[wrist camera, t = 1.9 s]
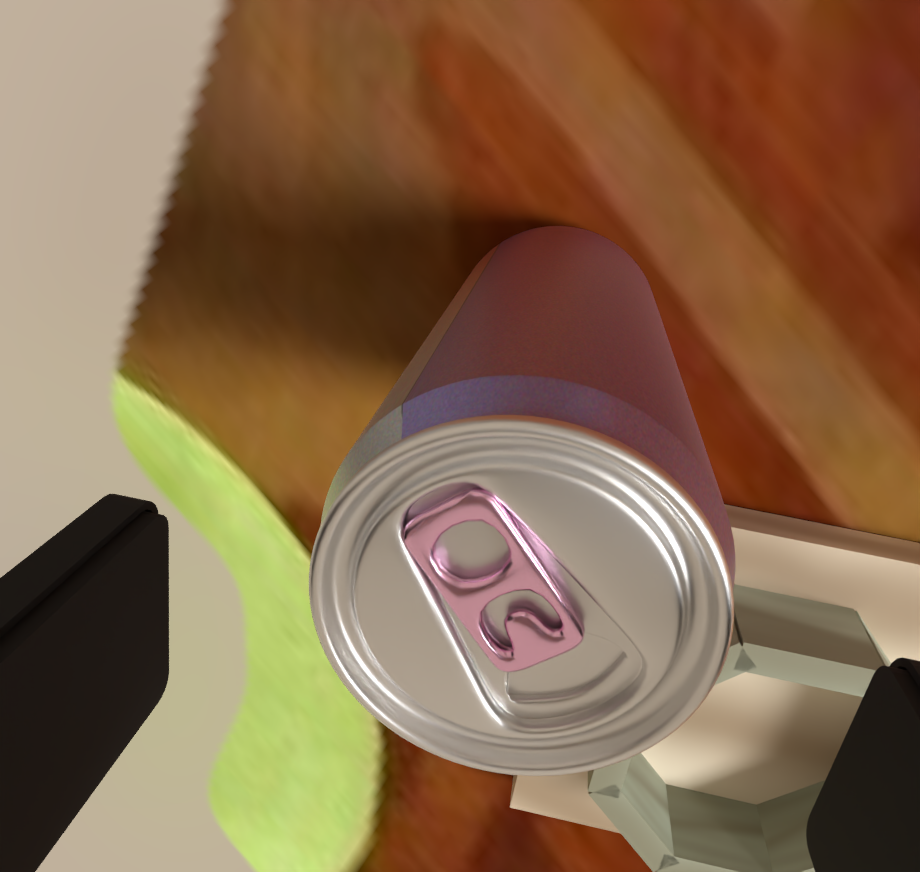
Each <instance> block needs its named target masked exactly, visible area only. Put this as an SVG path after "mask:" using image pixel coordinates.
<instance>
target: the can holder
mask: <svg viewBox="0 0 920 872" xmlns="http://www.w3.org/2000/svg"><path fill="white" fill-rule="evenodd" d="M724 506H725V509H726V512H727V515H728V518H729V521H730V524H731V529H732V534H733V539H734V547H735V565H736V570H735V582H734V588H733V597H734V623H733V633H732V638H731V643H730V648H729V651H728V655H727V658H726V661H725V663H724V666H723V668H722V671H721V673H720V675H719V677H718V679H717V681H716V683H715V685H714V686H713V688H712V689H711V691H710V693H709V694H708V696H707V697H706V698H705V700H704V701H703V702H702V704H701V705H700V706H699V708H698V709H697V710H696V711H695V712H694V713H693V714H692V715H691V716H690V718H689V719H688V720H687V721H685V722H684V723H683V724H682V725H681V726H680V727H679V728H678V729H677V730H675V731H674V732H673V733H671V734H670V735H669V736H668V737H666V738H665V739H663V740H662V741H660V742H659V743H657V744H656V745H654V746H652V747H650V748H649V749H647V750H645V751H643V752H641V753H639V754H637V755H635V756H633V757H631V758H628V759H626V760H623V761H621V762H618V763H615V764H612V765H609V766H606V767H602V768H599V769H594V770H590V771H586V772H580V773H574V774H566V775H555V776H521V775H513V783H512V792H511V801H510V807H511V808H515V809H519V810H523V811H528V812H532V813H536V814H540V815H545V816H549V817H553V818H558V819H562V820H566V821H570V822H575V823H579V824H583V825H587V826H592V827H596V828H600V829H605V830H609V831H613V832H617V833H621V834H622V835H623V836H624V838H625V839H626V840H627V841H628V842H629V844H630V845H631V846H632V847H633V848H634V850H635V851H636V852H637V853H638V854H639V856H640V857H641V858H642V859H643V860H644V862H645V863H646V864H647V865H648V866H649V867H650V869H651V870H652V871H653V872H655V871H656V872H815V870H814V866H813V863H812V860H811V857H810V854H809V851H808V846H807V840H806V828H807V821H808V818H809V815H810V813H811V811H812V808H813V806H814V804H815V802H816V800H817V798H818V795H819V793H820V791H821V789H822V787H823V784H824V782H825V780H826V778H827V776H828V773H829V771H830V769H831V767H832V765H833V762H834V760H835V758H836V756H837V754H838V751H839V749H840V747H841V745H842V743H843V740H844V738H845V736H846V734H847V732H848V729H849V727H850V725H851V723H852V721H853V718H854V716H855V714H856V712H857V710H858V708H859V705H860V703H861V701H862V699H863V697H864V694H865V692H866V690H867V688H868V686H869V683H870V681H871V679H872V677H873V675H874V673H875V671H876V670H877V669H878V668H879V667H880V666H890V665H891V663H892V662H893V661H895V660H896V659H897V658H902V657H903V658H908V659H913V660H917V661H920V543H917V542H912V541H907V540H902V539H897V538H892V537H887V536H882V535H877V534H872V533H867V532H862V531H857V530H852V529H847V528H842V527H837V526H831V525H826V524H821V523H816V522H811V521H806V520H801V519H796V518H791V517H786V516H781V515H776V514H771V513H766V512H761V511H756V510H751V509H746V508H741V507H736V506H731V505H726V504H724Z"/></svg>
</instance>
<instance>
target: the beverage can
mask: <svg viewBox="0 0 920 872" xmlns="http://www.w3.org/2000/svg"><path fill="white" fill-rule="evenodd" d="M735 570H736V565H735V547H734V539H733V534H732V529H731V524H730V521H729V518H728V515H727V512H726V509H725V506H724V503H723V500H722V497H721V494H720V491H719V488H718V485H717V482H716V479H715V476H714V473H713V470H712V467H711V464H710V461H709V458H708V455H707V453H706V450H705V447H704V444H703V441H702V438H701V435H700V432H699V429H698V426H697V423H696V420H695V417H694V414H693V411H692V408H691V405H690V402H689V399H688V397H687V394H686V391H685V388H684V385H683V382H682V379H681V376H680V373H679V370H678V367H677V364H676V361H675V358H674V355H673V352H672V349H671V346H670V343H669V341H668V338H667V335H666V332H665V329H664V326H663V323H662V320H661V317H660V314H659V311H658V308H657V305H656V302H655V299H654V296H653V293H652V291H651V288H650V286H649V283H648V281H647V279H646V277H645V275H644V274H643V272H642V271H641V269H640V268H639V266H638V265H637V264H636V262H635V261H634V260H633V259H632V258H631V257H630V256H629V255H628V254H627V253H626V252H625V251H624V250H623V249H622V248H620V247H619V246H618V245H616V244H615V243H613V242H612V241H610V240H609V239H607V238H605V237H603V236H601V235H599V234H597V233H594V232H591V231H588V230H585V229H581V228H576V227H569V226H546V227H539V228H534V229H530V230H527V231H523V232H521V233H518V234H516V235H514V236H512V237H510V238H508V239H506V240H504V241H503V242H501V243H500V244H498V245H497V246H495V247H494V248H493V249H492V250H490V251H489V252H488V253H487V254H486V255H485V256H484V257H483V258H482V259H481V260H480V261H479V262H478V264H477V265H476V266H475V268H474V269H473V270H472V272H471V273H470V275H469V276H468V278H467V279H466V281H465V282H464V284H463V285H462V287H461V288H460V290H459V291H458V292H457V294H456V295H455V297H454V298H453V300H452V301H451V303H450V304H449V306H448V307H447V309H446V310H445V312H444V313H443V315H442V316H441V317H440V319H439V320H438V322H437V323H436V325H435V326H434V328H433V329H432V331H431V332H430V334H429V335H428V337H427V338H426V340H425V341H424V343H423V344H422V345H421V347H420V348H419V350H418V351H417V353H416V354H415V356H414V357H413V359H412V360H411V362H410V363H409V365H408V366H407V368H406V369H405V370H404V372H403V373H402V375H401V376H400V378H399V379H398V381H397V382H396V384H395V385H394V387H393V388H392V390H391V391H390V393H389V394H388V395H387V397H386V398H385V400H384V401H383V403H382V404H381V406H380V407H379V409H378V410H377V412H376V413H375V415H374V416H373V418H372V419H371V420H370V422H369V423H368V425H367V426H366V428H365V429H364V431H363V432H362V434H361V435H360V437H359V438H358V440H357V441H356V443H355V444H354V446H353V447H352V448H351V450H350V451H349V453H348V454H347V456H346V457H345V459H344V461H343V462H342V464H341V465H340V467H339V469H338V471H337V473H336V475H335V477H334V479H333V481H332V484H331V486H330V489H329V491H328V494H327V498H326V501H325V504H324V509H323V514H322V519H321V526H320V529H319V531H318V534H317V537H316V540H315V544H314V547H313V552H312V557H311V562H310V572H309V596H310V605H311V611H312V617H313V620H314V624H315V628H316V631H317V634H318V637H319V640H320V643H321V645H322V647H323V649H324V652H325V654H326V656H327V658H328V660H329V662H330V663H331V665H332V667H333V669H334V670H335V672H336V673H337V675H338V676H339V678H340V680H341V681H342V682H343V684H344V685H345V686H346V687H347V689H348V690H349V691H350V692H351V694H352V695H353V696H354V697H355V698H356V699H357V700H358V702H359V703H360V704H361V705H362V706H363V707H364V708H365V709H366V710H367V711H369V712H370V713H371V714H372V715H373V716H374V717H375V718H377V719H378V720H379V721H380V722H381V723H383V724H384V725H385V726H387V727H388V728H389V729H391V730H392V731H394V732H395V733H397V734H398V735H399V736H401V737H402V738H404V739H406V740H408V741H409V742H411V743H413V744H414V745H416V746H418V747H420V748H422V749H424V750H426V751H428V752H430V753H433V754H435V755H437V756H439V757H442V758H445V759H447V760H450V761H453V762H455V763H459V764H462V765H465V766H468V767H472V768H476V769H480V770H485V771H490V772H495V773H502V774H510V775H521V776H555V775H566V774H574V773H580V772H586V771H590V770H594V769H599V768H602V767H606V766H609V765H612V764H615V763H618V762H621V761H623V760H626V759H628V758H631V757H633V756H635V755H637V754H639V753H641V752H643V751H645V750H647V749H649V748H650V747H652V746H654V745H656V744H657V743H659V742H660V741H662V740H663V739H665V738H666V737H668V736H669V735H670V734H671V733H673V732H674V731H675V730H677V729H678V728H679V727H680V726H681V725H682V724H683V723H684V722H685V721H687V720H688V719H689V718H690V716H691V715H692V714H693V713H694V712H695V711H696V710H697V709H698V708H699V706H700V705H701V704H702V702H703V701H704V700H705V698H706V697H707V696H708V694H709V693H710V691H711V689H712V688H713V686H714V685H715V683H716V681H717V679H718V677H719V675H720V673H721V671H722V668H723V666H724V663H725V661H726V658H727V655H728V651H729V648H730V643H731V638H732V633H733V623H734V597H733V588H734V582H735Z"/></svg>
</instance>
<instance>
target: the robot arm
mask: <svg viewBox="0 0 920 872" xmlns="http://www.w3.org/2000/svg"><path fill="white" fill-rule="evenodd" d="M168 529H169V528H168V520H167V518H166V517H165V516H164V515H160V514H158V510H157V507H156V505H155V504H154V503H153V502H150V501H146V500H141V499H136V498H131V497H126V496H122V495H117V494H109V495H107V496H105V497H103V498H102V499H101V500H99V501H98V502H97V503H95V504H94V505H93V506H92V507H90V508H89V509H88V510H87V511H85V512H84V513H83V514H81V515H80V516H79V517H78V518H76V519H75V520H74V521H73V522H71V523H70V524H69V525H67V526H66V527H65V528H64V529H62V530H61V531H60V532H59V533H57V534H56V535H55V536H53V537H52V538H51V539H50V540H48V541H47V542H46V543H44V544H43V545H42V546H41V547H39V548H38V549H37V550H36V551H34V552H33V553H32V554H31V555H29V556H28V557H27V558H25V559H24V560H23V561H22V562H20V563H19V564H18V565H16V566H15V567H14V568H13V569H11V570H10V571H9V572H7V573H6V574H5V575H4V576H2V577H1V578H0V872H35V871H36V870H37V868H38V867H39V866H40V864H41V863H42V862H43V860H44V859H45V857H46V856H47V855H48V853H49V852H50V850H51V849H52V848H53V846H54V845H55V844H56V842H57V841H58V840H59V838H60V837H61V835H62V834H63V833H64V831H65V830H66V829H67V827H68V826H69V824H70V823H71V822H72V820H73V819H74V818H75V816H76V815H77V813H78V812H79V810H80V809H81V808H82V807H83V805H84V804H85V802H86V801H87V800H88V798H89V797H90V795H91V794H92V793H93V791H94V790H95V789H96V787H97V786H98V785H99V783H100V782H101V780H102V779H103V778H104V776H105V775H106V773H107V772H108V771H109V769H110V768H111V767H112V765H113V764H114V762H115V761H116V760H117V759H118V757H119V756H120V754H121V753H122V752H123V750H124V749H125V747H126V746H127V745H128V743H129V742H130V740H131V739H132V738H133V737H134V735H135V734H136V732H137V731H138V730H139V728H140V727H141V726H142V724H143V723H144V721H145V720H146V719H147V717H148V716H149V715H150V713H151V712H152V710H153V709H154V708H155V706H156V705H157V704H158V702H159V700H160V699H161V697H162V695H163V693H164V691H165V688H166V685H167V681H168V675H169V565H168V564H169V554H168V553H169V548H168V547H169V545H168V544H169V541H168V540H169V539H168V537H169V536H168V535H169V534H168V533H169V530H168ZM806 840H807V846H808V851H809V854H810V857H811V860H812V863H813V866H814V870H815V872H920V661H917V660H913V659H908V658H903V657H902V658H897V659H896V660H895V661H893V662H892V663H891V665H890V666H880V667H879V668H878V669H877V670H876V671H875V673H874V675H873V677H872V679H871V681H870V683H869V686H868V688H867V690H866V692H865V694H864V697H863V699H862V701H861V703H860V705H859V708H858V710H857V712H856V714H855V716H854V718H853V721H852V723H851V725H850V727H849V729H848V732H847V734H846V736H845V738H844V740H843V743H842V745H841V747H840V749H839V751H838V754H837V756H836V758H835V760H834V762H833V765H832V767H831V769H830V771H829V773H828V776H827V778H826V780H825V782H824V784H823V787H822V789H821V791H820V793H819V795H818V798H817V800H816V802H815V804H814V806H813V808H812V811H811V813H810V815H809V818H808V821H807V828H806Z"/></svg>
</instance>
